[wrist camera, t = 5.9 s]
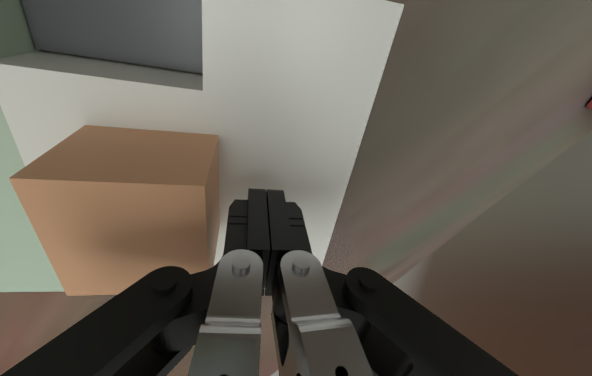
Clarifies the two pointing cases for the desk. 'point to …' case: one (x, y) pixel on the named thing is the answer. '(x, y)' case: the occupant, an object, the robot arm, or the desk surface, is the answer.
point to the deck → (193, 96)
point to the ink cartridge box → (589, 105)
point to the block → (123, 205)
